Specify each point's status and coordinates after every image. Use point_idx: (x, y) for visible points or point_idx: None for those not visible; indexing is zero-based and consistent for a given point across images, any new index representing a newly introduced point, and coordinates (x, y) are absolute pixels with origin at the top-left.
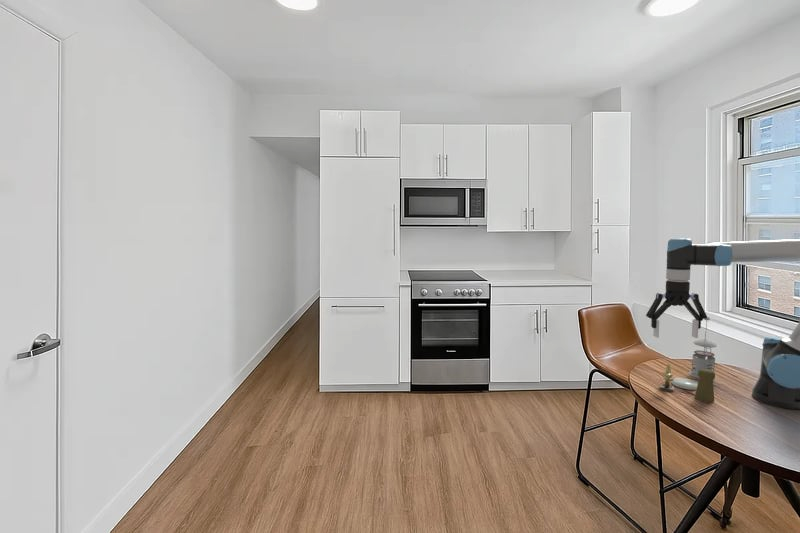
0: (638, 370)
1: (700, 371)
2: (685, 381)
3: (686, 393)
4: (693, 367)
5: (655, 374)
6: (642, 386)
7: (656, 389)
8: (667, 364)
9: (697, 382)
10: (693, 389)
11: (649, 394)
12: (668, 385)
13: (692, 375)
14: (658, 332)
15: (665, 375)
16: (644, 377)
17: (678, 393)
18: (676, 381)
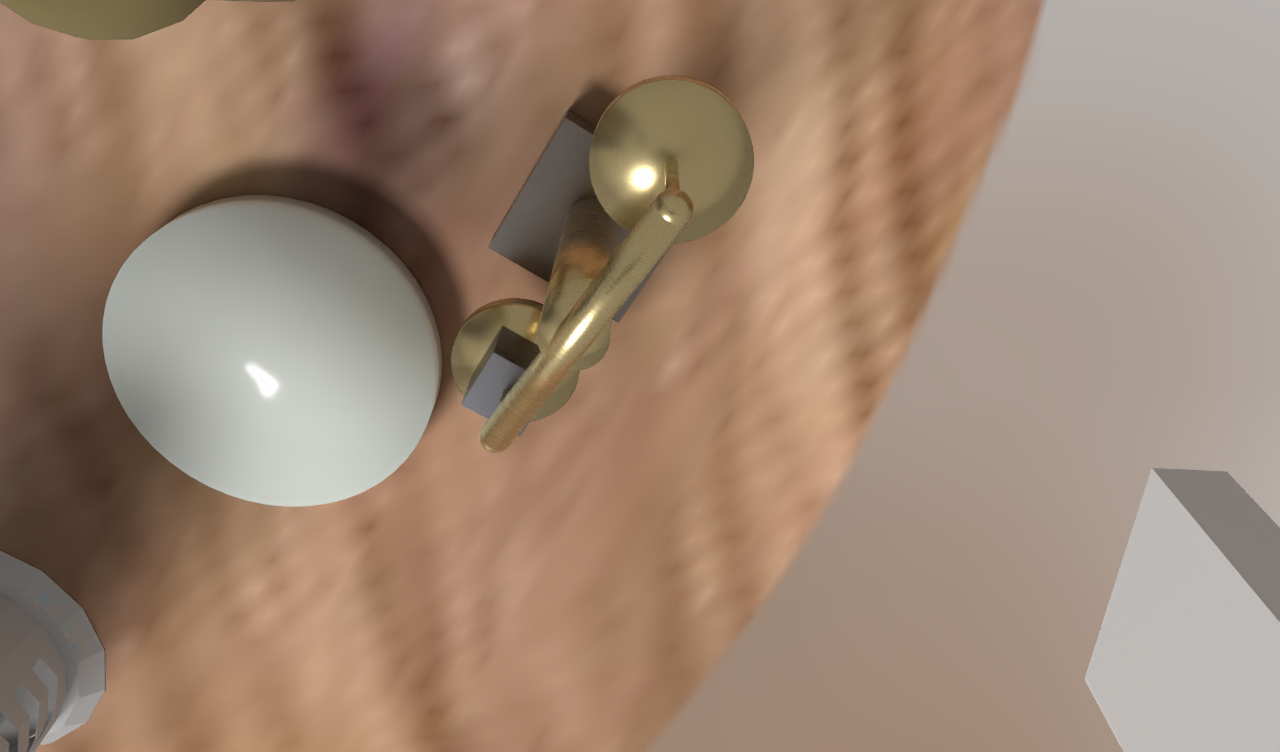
0: (630, 748)
1: None
2: (273, 395)
3: (409, 78)
4: (25, 715)
5: (495, 652)
6: (867, 283)
7: None
8: (689, 209)
9: (134, 371)
10: (264, 198)
11: (940, 5)
12: (589, 206)
13: (84, 634)
14: (1268, 592)
15: (732, 107)
16: (675, 562)
17: (517, 70)
18: (388, 390)
